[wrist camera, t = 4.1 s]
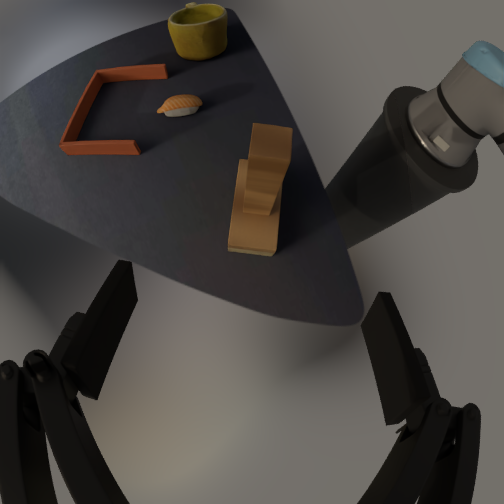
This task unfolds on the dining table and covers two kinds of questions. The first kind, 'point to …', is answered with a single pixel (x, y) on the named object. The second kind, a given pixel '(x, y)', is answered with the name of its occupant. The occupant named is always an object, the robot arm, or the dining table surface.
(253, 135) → the brown boxy piece
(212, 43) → the mug
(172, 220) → the dining table surface
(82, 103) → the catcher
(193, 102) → the sushi
